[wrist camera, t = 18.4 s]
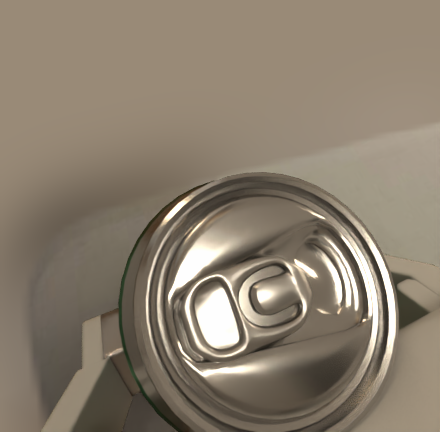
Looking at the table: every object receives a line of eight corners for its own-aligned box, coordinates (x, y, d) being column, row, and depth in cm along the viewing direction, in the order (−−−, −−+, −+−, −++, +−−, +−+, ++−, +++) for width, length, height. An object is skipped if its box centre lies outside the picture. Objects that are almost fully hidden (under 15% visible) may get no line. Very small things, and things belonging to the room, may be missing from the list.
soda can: (262, 335, 16) (478, 398, 5) (169, 374, 15) (164, 579, 4) (229, 246, 17) (341, 125, 6) (141, 275, 16) (69, 194, 5)
